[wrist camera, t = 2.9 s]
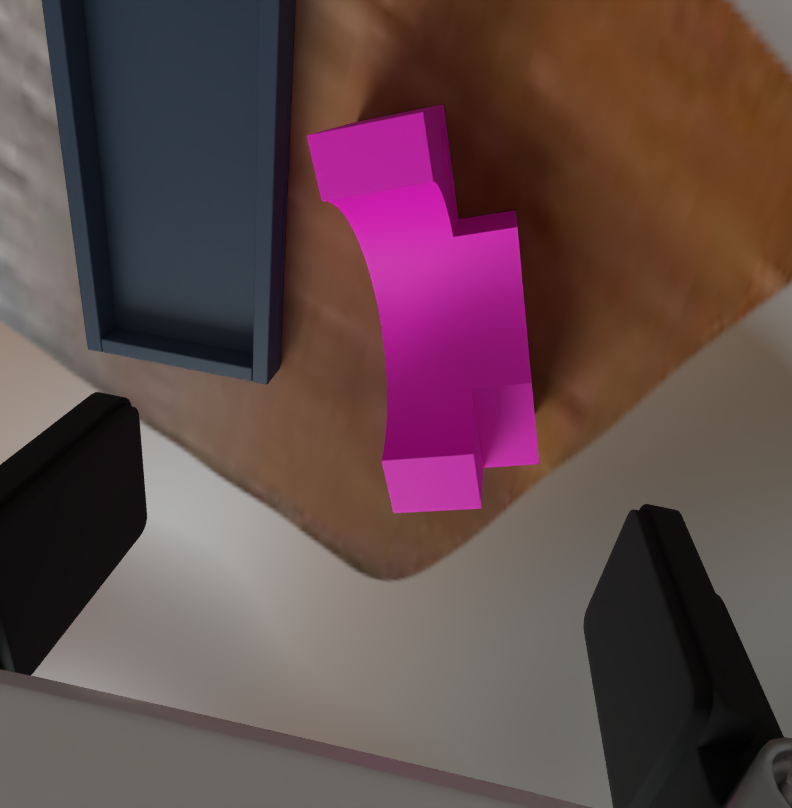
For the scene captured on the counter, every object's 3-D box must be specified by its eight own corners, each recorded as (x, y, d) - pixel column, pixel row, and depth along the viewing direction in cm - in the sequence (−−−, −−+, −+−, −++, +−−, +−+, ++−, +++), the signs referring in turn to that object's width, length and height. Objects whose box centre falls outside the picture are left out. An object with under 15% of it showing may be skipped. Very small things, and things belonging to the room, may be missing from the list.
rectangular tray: (299, -69, 22) (282, -82, 21) (280, 368, 32) (267, 385, 30) (60, -103, 23) (25, -118, 21) (109, 335, 32) (87, 349, 30)
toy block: (533, 415, 31) (543, 505, 24) (415, 425, 32) (393, 512, 25) (504, 91, 24) (506, 94, 17) (356, 122, 25) (306, 135, 19)
